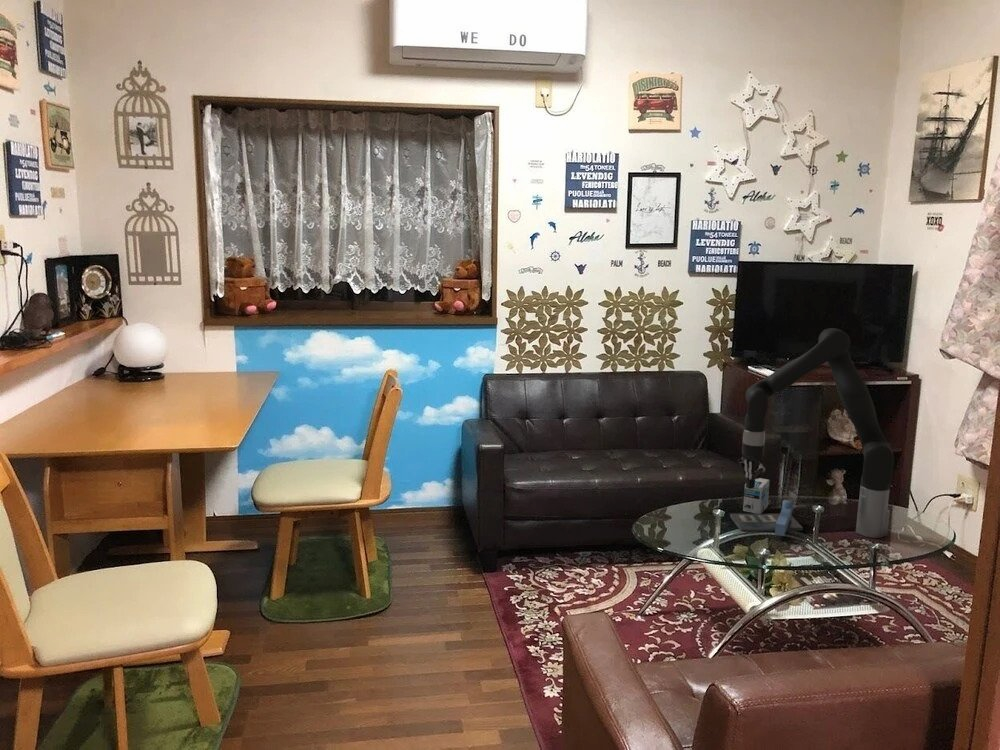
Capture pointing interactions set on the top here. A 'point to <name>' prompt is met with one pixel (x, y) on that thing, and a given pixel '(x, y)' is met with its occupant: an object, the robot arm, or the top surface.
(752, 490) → the light bulb box
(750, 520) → the plate
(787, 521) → the swing arm
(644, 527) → the top surface
